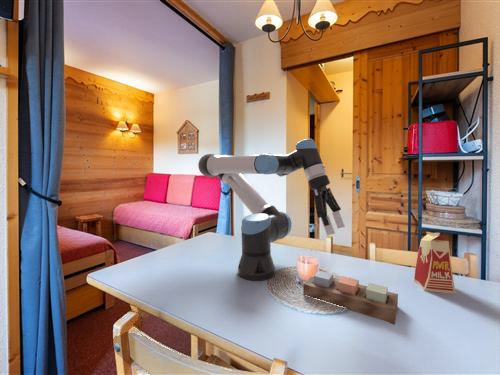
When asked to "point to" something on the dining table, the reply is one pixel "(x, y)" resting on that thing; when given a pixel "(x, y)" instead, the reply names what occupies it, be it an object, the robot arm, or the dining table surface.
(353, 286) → the terracotta button
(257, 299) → the dining table surface
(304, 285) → the button panel
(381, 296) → the sage button
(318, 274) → the slate button
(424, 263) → the milk carton
